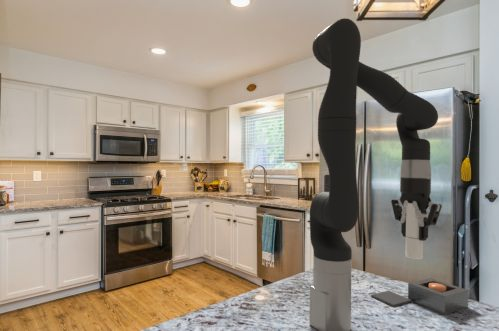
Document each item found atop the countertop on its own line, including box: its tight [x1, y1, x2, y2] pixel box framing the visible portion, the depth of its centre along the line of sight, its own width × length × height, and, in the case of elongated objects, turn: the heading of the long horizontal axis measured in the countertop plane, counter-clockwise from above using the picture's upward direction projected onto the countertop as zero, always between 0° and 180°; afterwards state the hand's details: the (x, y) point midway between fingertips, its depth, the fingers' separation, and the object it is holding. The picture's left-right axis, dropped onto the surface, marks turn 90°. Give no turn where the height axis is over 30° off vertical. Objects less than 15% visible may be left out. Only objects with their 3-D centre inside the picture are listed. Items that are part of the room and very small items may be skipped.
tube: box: [404, 203, 424, 261], centre depth 86 cm, size 4×4×15 cm
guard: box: [407, 277, 469, 316], centre depth 92 cm, size 11×11×5 cm
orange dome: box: [429, 283, 446, 293], centre depth 92 cm, size 4×4×2 cm
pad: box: [370, 290, 412, 308], centre depth 94 cm, size 8×8×1 cm
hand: (414, 238), depth 86 cm, fingers closed on tube, 4 cm apart
